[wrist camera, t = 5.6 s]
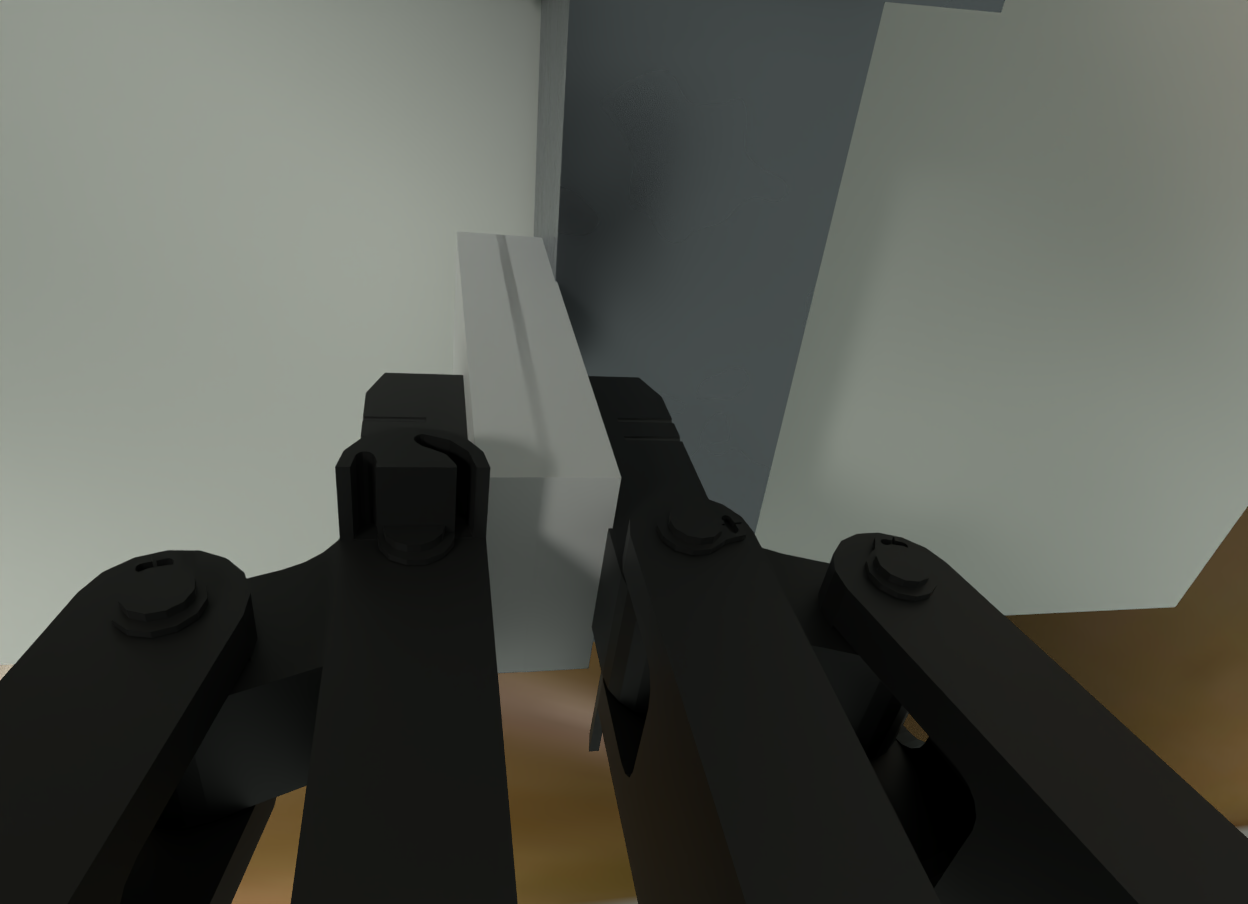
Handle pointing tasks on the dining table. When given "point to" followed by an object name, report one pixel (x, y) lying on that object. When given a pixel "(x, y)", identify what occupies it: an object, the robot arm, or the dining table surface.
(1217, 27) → the board
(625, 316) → the link
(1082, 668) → the dining table surface
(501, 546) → the robot arm
